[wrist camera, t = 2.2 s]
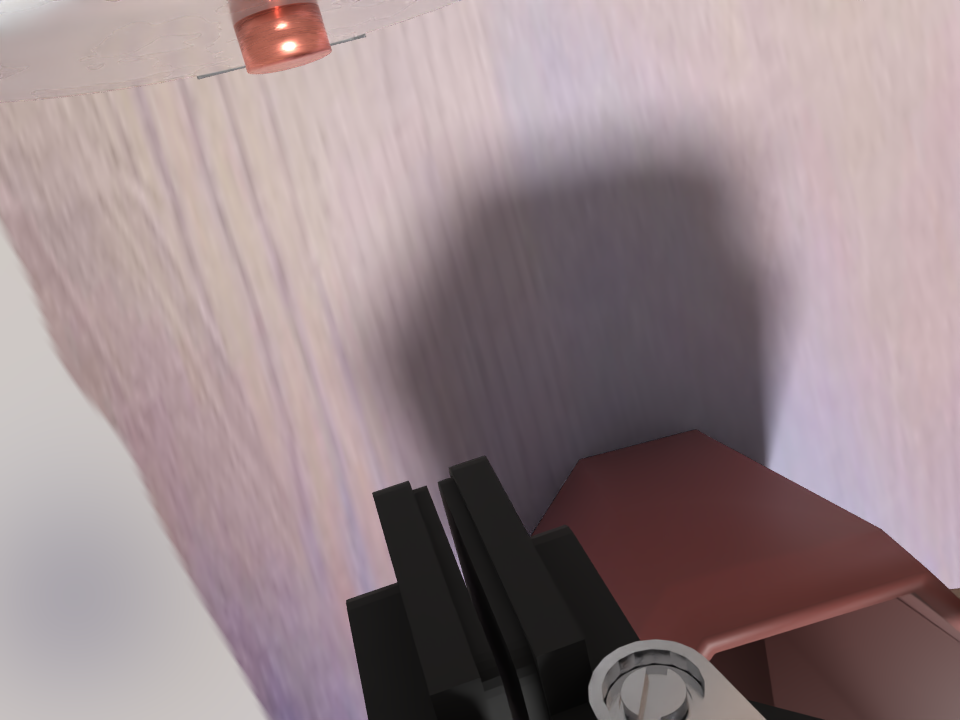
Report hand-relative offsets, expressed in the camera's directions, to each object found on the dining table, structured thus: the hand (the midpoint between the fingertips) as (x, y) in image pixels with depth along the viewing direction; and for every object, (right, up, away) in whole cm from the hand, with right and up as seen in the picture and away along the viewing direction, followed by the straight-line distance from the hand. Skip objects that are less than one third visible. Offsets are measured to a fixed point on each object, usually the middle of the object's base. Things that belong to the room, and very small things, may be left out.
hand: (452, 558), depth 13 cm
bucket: (+10, -9, +44) cm, 47 cm away
